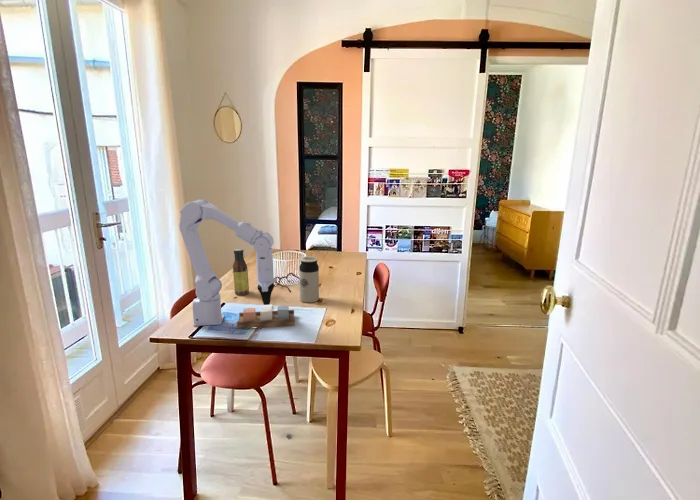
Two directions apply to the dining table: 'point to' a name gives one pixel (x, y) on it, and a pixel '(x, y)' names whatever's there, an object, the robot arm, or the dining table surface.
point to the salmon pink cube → (249, 314)
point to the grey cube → (283, 312)
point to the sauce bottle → (240, 273)
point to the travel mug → (309, 279)
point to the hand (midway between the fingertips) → (266, 304)
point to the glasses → (286, 278)
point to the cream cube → (266, 313)
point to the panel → (266, 321)
